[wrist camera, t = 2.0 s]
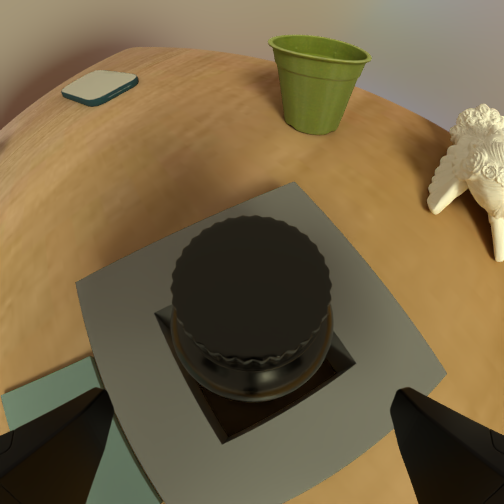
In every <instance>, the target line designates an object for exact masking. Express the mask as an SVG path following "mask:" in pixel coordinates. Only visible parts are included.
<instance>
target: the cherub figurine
mask: <svg viewBox="0 0 504 504" xmlns="http://www.w3.org/2000/svg"><path fill="white" fill-rule="evenodd" d="M456 123H457V125H455V126H454V127H451V128H450V135H451V139H450V140H451V142H452V143H453V144H454V145H452V146H450V147H449V148H448V150H447V155H446V156H443V157H442V158H441V160H440V166H439V167H437V168H436V169H435V176H433V177H432V183H431V184H430V185H429V187H428V190H429V193H430V195H429V197H428V199H427V204H428V207H429V209H430V211H431V212H432V213H433V214H438V213H440V212H441V211H442V210H443V209H444V208H445V207H446V206H447V205H448V204H450V203H451V202H452V201H453V200H454V199H455V198H456V197H458V196H459V195H461V194H462V193H463V192H464V191H466V190H467V189H468V188H469V190H470V192H471V194H472V195H473V197H474V199H475V200H476V201H477V203H478V204H479V205H480V206H481V207H483V208H484V209H485V210H486V211H487V212H488V220H489V223H490V224H491V232H492V238H493V246H494V256H495V260H496V261H497V262H502V261H503V260H504V116H500V114H499V112H498V111H497V110H496V109H494V108H491V109H490V108H489V107H488V106H487V105H486V104H481V105H480V106H478V107H477V108H475V109H474V108H469V109H466V110H465V111H463V112H462V113H460V114H459V116H458V118H457V122H456Z"/></svg>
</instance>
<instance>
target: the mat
mask: <svg viewBox="0 0 504 504" xmlns="http://www.w3.org/2000/svg"><path fill="white" fill-rule="evenodd" d="M94 387H98V388H102V389H104V386H103V384H102V381H101V378H100V375H99V373H98V370H97V367H96V364H95V361H94V358H93V357H90V356H89V357H87V358H85V359H83V360H80V361H78V362H76V363H74V364H72V365H69V366H67V367H65V368H63V369H61V370H58V371H56V372H54V373H52V374H49V375H47V376H45V377H43V378H40V379H38V380H36V381H33V382H31V383H29V384H27V385H24V386H22V387H20V388H17V389H15V390H13V391H10V392H8V393H6V394H3V395H1V399H2V403H3V407H4V411H5V415H6V418H7V422H8V425H9V429H10V431H12V430H15V429H16V428H18V427H20V426H22V425H24V424H26V423H28V422H30V421H32V420H34V419H36V418H38V417H40V416H41V415H43V414H45V413H47V412H49V411H51V410H53V409H55V408H57V407H59V406H61V405H62V404H64V403H66V402H68V401H70V400H72V399H74V398H75V397H77V396H79V395H81V394H83V393H85V392H86V391H88V390H90V389H92V388H94ZM162 502H163V501H162V500H161V498H160V497H159V495H158V494H157V492H156V491H155V489H154V487H153V486H152V484H151V483H150V481H149V479H148V478H147V476H146V474H145V473H144V471H143V469H142V467H141V466H140V464H139V462H138V460H137V459H136V457H135V455H134V453H133V451H132V449H131V447H130V445H129V443H128V441H127V439H126V437H125V435H124V433H123V431H122V429H121V427H120V425H119V422H118V420H117V418H116V416H115V413H114V415H113V419H112V423H111V427H110V431H109V435H108V439H107V443H106V447H105V450H104V453H103V456H102V459H101V461H100V464H99V467H98V470H97V472H96V475H95V478H94V481H93V484H92V487H91V490H90V493H89V496H88V499H87V502H86V504H161V503H162Z"/></svg>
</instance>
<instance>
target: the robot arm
mask: <svg viewBox="0 0 504 504" xmlns="http://www.w3.org/2000/svg"><path fill="white" fill-rule="evenodd" d="M113 415H114V407H113V404H112V402H111V399H110V396H109V394H108V392H107V390H105V389H102V388H98V387H94V388H92V389H90V390H88V391H86V392H85V393H83V394H81V395H79V396H77V397H75V398H74V399H72V400H70V401H68V402H66V403H64V404H62V405H61V406H59V407H57V408H55V409H53V410H51V411H49V412H47V413H45V414H43V415H41V416H40V417H38V418H36V419H34V420H32V421H30V422H28V423H26V424H24V425H22V426H20V427H18V428H16V429H15V430H12V431H10V432H7V433H5V434H3V435H1V436H0V504H86V502H87V499H88V496H89V493H90V490H91V487H92V484H93V481H94V478H95V475H96V472H97V470H98V467H99V464H100V461H101V459H102V456H103V453H104V450H105V447H106V443H107V439H108V435H109V431H110V427H111V423H112V419H113ZM390 415H391V419H392V422H393V426H394V430H395V434H396V438H397V442H398V446H399V449H400V452H401V455H402V458H403V461H404V463H405V466H406V469H407V472H408V474H409V477H410V480H411V483H412V486H413V489H414V492H415V495H416V498H417V501H418V504H504V435H502V434H500V433H498V432H496V431H493V430H491V429H490V430H489V428H487V427H485V426H483V425H481V424H479V423H477V422H475V421H473V420H471V419H469V418H467V417H465V416H463V415H461V414H459V413H458V412H456V411H454V410H452V409H450V408H448V407H446V406H444V405H442V404H440V403H438V402H437V401H435V400H433V399H431V398H429V397H427V396H425V395H424V394H422V393H420V392H418V391H416V390H415V389H413V388H411V387H405V388H401V389H398V390H397V391H396V394H395V396H394V399H393V401H392V404H391V407H390Z"/></svg>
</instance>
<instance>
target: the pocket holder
mask: <svg viewBox="0 0 504 504" xmlns="http://www.w3.org/2000/svg"><path fill="white" fill-rule="evenodd" d="M242 215H244V216H254V215H258V216H261V217H272V218H273V219H275V220H281V221H285V222H286V223H287V224H288V225H291V226H294V227H297V228H298V229H299V231H300V232H302V233H304V234H306V235H308V237H309V239H310V241H312V242H313V243H315V244H316V245H317V247H318V250H319V252H320V253H321V254H322V255H323V256H324V257H325V264H326V265H327V267H328V268H329V270H330V275H329V278H330V280H331V282H332V288H331V291H330V294H331V298H332V300H331V306H332V311H333V319H334V329H333V337H332V341H331V345H330V348H329V351H328V353H327V355H326V358H327V360H328V361H329V363H330V364H331V366H332V367H333V369H334V370H335V371H336V373H337V374H335V375H334V376H332V377H331V378H330V379H328V380H327V381H325V382H324V383H322V384H321V385H319V386H318V387H316V388H315V389H313V390H312V391H310V392H309V393H307V394H305V395H304V396H302V397H301V398H299V399H297V400H296V401H294V402H293V403H291V404H289V405H288V406H286V407H284V408H283V409H281V410H279V411H277V412H276V413H274V414H272V415H270V416H269V417H267V418H265V419H263V420H261V421H259V422H258V423H256V424H254V425H252V426H250V427H248V428H246V429H244V430H242V431H240V432H238V433H236V434H234V435H232V436H230V437H228V436H227V434H226V433H225V431H224V430H223V428H222V426H221V425H220V423H219V421H218V420H217V418H216V416H215V415H214V413H213V411H212V409H211V408H210V406H209V404H208V402H207V401H206V399H205V397H204V395H203V393H202V392H201V390H200V388H199V386H198V384H197V382H196V381H195V379H194V378H193V377H192V376H191V375H190V374H189V373H188V371H187V370H186V369H185V367H184V366H183V365H182V363H181V361H180V359H179V358H178V356H177V353H176V351H175V348H174V345H173V341H172V336H171V326H170V323H171V312H172V307H173V306H172V298H173V295H172V293H171V290H170V287H171V284H172V282H173V280H172V273H173V271H174V269H175V268H176V260H177V259H178V258H179V257H180V256H181V255H182V251H183V248H185V247H186V246H188V245H189V244H190V241H191V240H192V238H194V237H195V236H198V235H199V234H200V233H201V231H202V230H203V229H206V228H209V227H211V226H212V225H213V224H214V223H216V222H222V221H224V220H226V219H227V218H237V217H239V216H242ZM75 283H76V288H77V293H78V297H79V302H80V306H81V311H82V315H83V319H84V323H85V327H86V330H87V334H88V337H89V341H90V344H91V348H92V351H93V354H94V357H95V360H96V363H97V366H98V369H99V372H100V375H101V378H102V380H103V383H104V386H105V388H106V390H107V392H108V394H109V396H110V399H111V402H112V404H113V407H114V411H115V413H116V415H117V417H118V420H119V422H120V424H121V426H122V428H123V431H124V433H125V435H126V437H127V439H128V441H129V443H130V445H131V447H132V449H133V450H134V452H135V454H136V456H137V458H138V460H139V462H140V463H141V465H142V467H143V469H144V470H145V472H146V474H147V475H148V477H149V479H150V480H151V482H152V484H153V485H154V487H155V488H156V490H157V492H158V493H159V495H160V496H161V498H162V499H163V501H164V502H165V504H282V503H285V502H286V501H288V500H290V499H292V498H294V497H296V496H298V495H300V494H302V493H303V492H305V491H307V490H309V489H310V488H312V487H314V486H316V485H317V484H319V483H321V482H322V481H324V480H325V479H327V478H329V477H330V476H332V475H333V474H335V473H336V472H338V471H339V470H341V469H342V468H344V467H345V466H347V465H348V464H349V463H351V462H352V461H354V460H355V459H356V458H358V457H359V456H360V455H362V454H363V453H364V452H366V451H367V450H368V449H370V448H371V447H372V446H373V445H375V444H376V443H377V442H378V441H380V440H381V439H382V438H383V437H384V436H386V435H387V434H388V433H389V432H390V431H391V430H393V429H394V426H393V422H392V419H391V415H390V407H391V404H392V401H393V399H394V396H395V394H396V391H397V390H398V389H401V388H405V387H411V388H413V389H415V390H416V391H418V392H420V393H422V394H424V395H425V396H428V395H429V394H430V392H431V391H432V390H433V389H434V388H435V387H436V386H437V385H438V384H439V383H440V381H441V380H442V379H443V378H444V377H445V376H446V374H447V373H446V371H445V369H444V368H443V366H442V365H441V363H440V362H439V360H438V359H437V357H436V356H435V354H434V353H433V351H432V350H431V348H430V347H429V345H428V344H427V342H426V341H425V339H424V338H423V336H422V335H421V334H420V332H419V331H418V329H417V328H416V326H415V325H414V324H413V322H412V321H411V319H410V318H409V317H408V315H407V314H406V313H405V311H404V310H403V309H402V307H401V306H400V305H399V303H398V302H397V301H396V299H395V298H394V297H393V295H392V294H391V293H390V291H389V290H388V289H387V287H386V286H385V285H384V284H383V282H382V281H381V280H380V279H379V277H378V276H377V275H376V274H375V272H374V271H373V270H372V269H371V267H370V266H369V265H368V264H367V262H366V261H365V260H364V259H363V258H362V256H361V255H360V254H359V253H358V252H357V250H356V249H355V248H354V247H353V246H352V244H351V243H350V242H349V241H348V240H347V239H346V237H345V236H344V235H343V234H342V233H341V232H340V231H339V229H338V228H337V227H336V226H335V225H334V224H333V223H332V222H331V220H330V219H329V218H328V217H327V216H326V215H325V214H324V213H323V212H322V210H321V209H320V208H319V207H318V206H317V205H316V204H315V203H314V202H313V201H312V200H311V198H310V197H309V196H308V195H307V194H306V193H305V192H304V191H303V190H302V189H301V188H300V187H299V186H298V185H297V184H296V183H295V182H292V183H289V184H287V185H284V186H282V187H279V188H277V189H274V190H272V191H269V192H267V193H264V194H262V195H260V196H257V197H255V198H252V199H250V200H248V201H245V202H243V203H240V204H238V205H236V206H233V207H231V208H229V209H226V210H224V211H222V212H220V213H217V214H215V215H213V216H211V217H208V218H206V219H204V220H202V221H199V222H197V223H195V224H193V225H191V226H188V227H186V228H184V229H182V230H180V231H177V232H175V233H173V234H171V235H169V236H167V237H165V238H163V239H160V240H158V241H156V242H154V243H152V244H150V245H148V246H146V247H144V248H142V249H140V250H138V251H136V252H134V253H132V254H130V255H128V256H126V257H124V258H122V259H120V260H118V261H116V262H114V263H112V264H110V265H108V266H106V267H104V268H102V269H100V270H98V271H96V272H94V273H92V274H90V275H89V276H87V277H85V278H83V279H81V280H79V281H77V282H75Z"/></svg>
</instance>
